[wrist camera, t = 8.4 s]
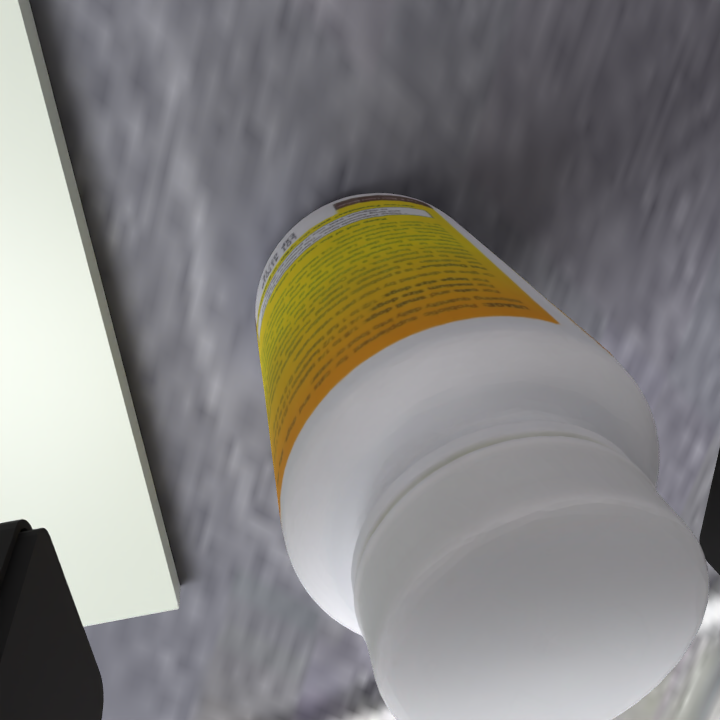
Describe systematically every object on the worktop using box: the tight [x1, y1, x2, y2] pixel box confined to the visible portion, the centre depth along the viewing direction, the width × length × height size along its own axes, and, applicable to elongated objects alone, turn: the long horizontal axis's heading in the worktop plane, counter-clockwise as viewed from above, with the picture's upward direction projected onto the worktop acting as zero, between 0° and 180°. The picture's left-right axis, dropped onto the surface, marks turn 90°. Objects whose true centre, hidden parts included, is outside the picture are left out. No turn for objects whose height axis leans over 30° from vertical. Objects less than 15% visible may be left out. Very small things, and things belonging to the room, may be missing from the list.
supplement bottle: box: [255, 193, 709, 720], centre depth 12 cm, size 6×6×10 cm
